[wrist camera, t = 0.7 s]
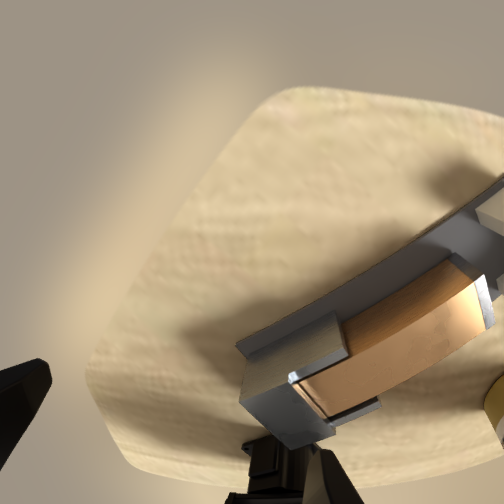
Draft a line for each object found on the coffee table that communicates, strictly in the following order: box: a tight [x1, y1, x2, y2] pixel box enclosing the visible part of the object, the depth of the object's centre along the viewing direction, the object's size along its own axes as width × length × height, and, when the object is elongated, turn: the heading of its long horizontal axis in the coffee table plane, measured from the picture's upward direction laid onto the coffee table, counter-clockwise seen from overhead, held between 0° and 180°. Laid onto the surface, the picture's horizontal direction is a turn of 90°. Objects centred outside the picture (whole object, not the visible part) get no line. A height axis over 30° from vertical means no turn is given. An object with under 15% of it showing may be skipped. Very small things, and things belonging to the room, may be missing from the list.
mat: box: [235, 177, 504, 360], centre depth 19 cm, size 8×24×1 cm, turn 125°
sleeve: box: [239, 310, 382, 450], centre depth 19 cm, size 6×7×5 cm
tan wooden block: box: [295, 252, 495, 417], centre depth 18 cm, size 4×15×4 cm, turn 125°
